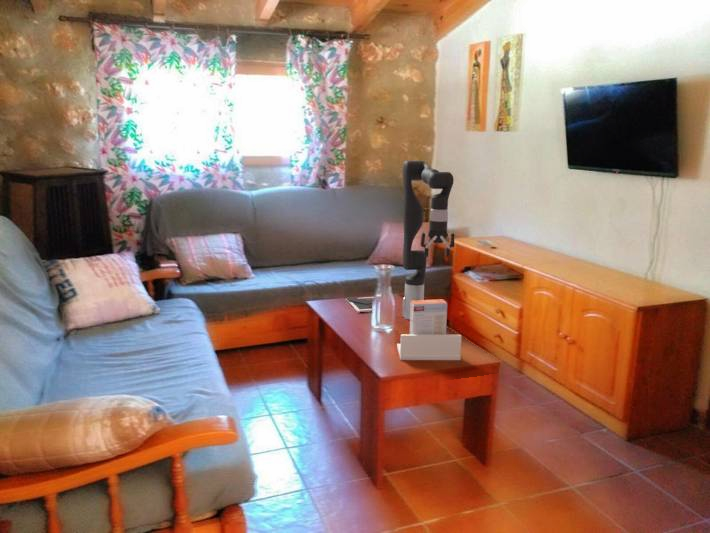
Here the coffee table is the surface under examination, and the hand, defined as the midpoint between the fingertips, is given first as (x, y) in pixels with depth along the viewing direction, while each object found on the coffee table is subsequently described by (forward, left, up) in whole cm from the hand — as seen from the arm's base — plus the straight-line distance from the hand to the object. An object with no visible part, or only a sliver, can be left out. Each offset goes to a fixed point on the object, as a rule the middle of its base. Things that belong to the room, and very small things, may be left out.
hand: (436, 256), depth 252 cm
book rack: (+9, -20, -36) cm, 42 cm away
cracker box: (+9, -20, -35) cm, 41 cm away
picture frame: (-48, +16, -37) cm, 63 cm away
